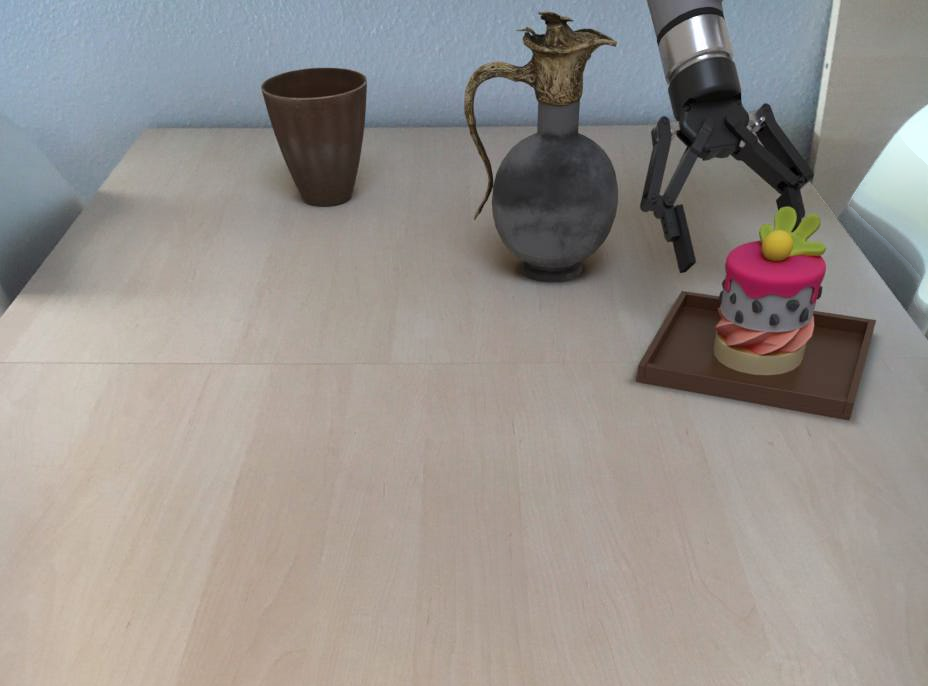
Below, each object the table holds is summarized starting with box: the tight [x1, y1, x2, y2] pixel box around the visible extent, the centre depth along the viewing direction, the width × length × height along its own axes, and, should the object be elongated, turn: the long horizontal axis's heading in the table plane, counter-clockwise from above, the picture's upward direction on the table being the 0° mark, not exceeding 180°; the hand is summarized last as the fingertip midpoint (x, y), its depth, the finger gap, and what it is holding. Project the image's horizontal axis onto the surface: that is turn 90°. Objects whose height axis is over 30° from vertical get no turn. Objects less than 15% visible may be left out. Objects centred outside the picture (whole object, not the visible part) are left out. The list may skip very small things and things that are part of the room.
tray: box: [636, 290, 877, 421], centre depth 115 cm, size 23×20×2 cm
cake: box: [713, 207, 827, 375], centre depth 110 cm, size 10×11×15 cm
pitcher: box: [463, 11, 619, 283], centre depth 124 cm, size 11×19×30 cm, turn 81°
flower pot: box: [260, 67, 368, 207], centre depth 150 cm, size 15×15×16 cm
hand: (743, 259), depth 114 cm, fingers open, 13 cm apart
